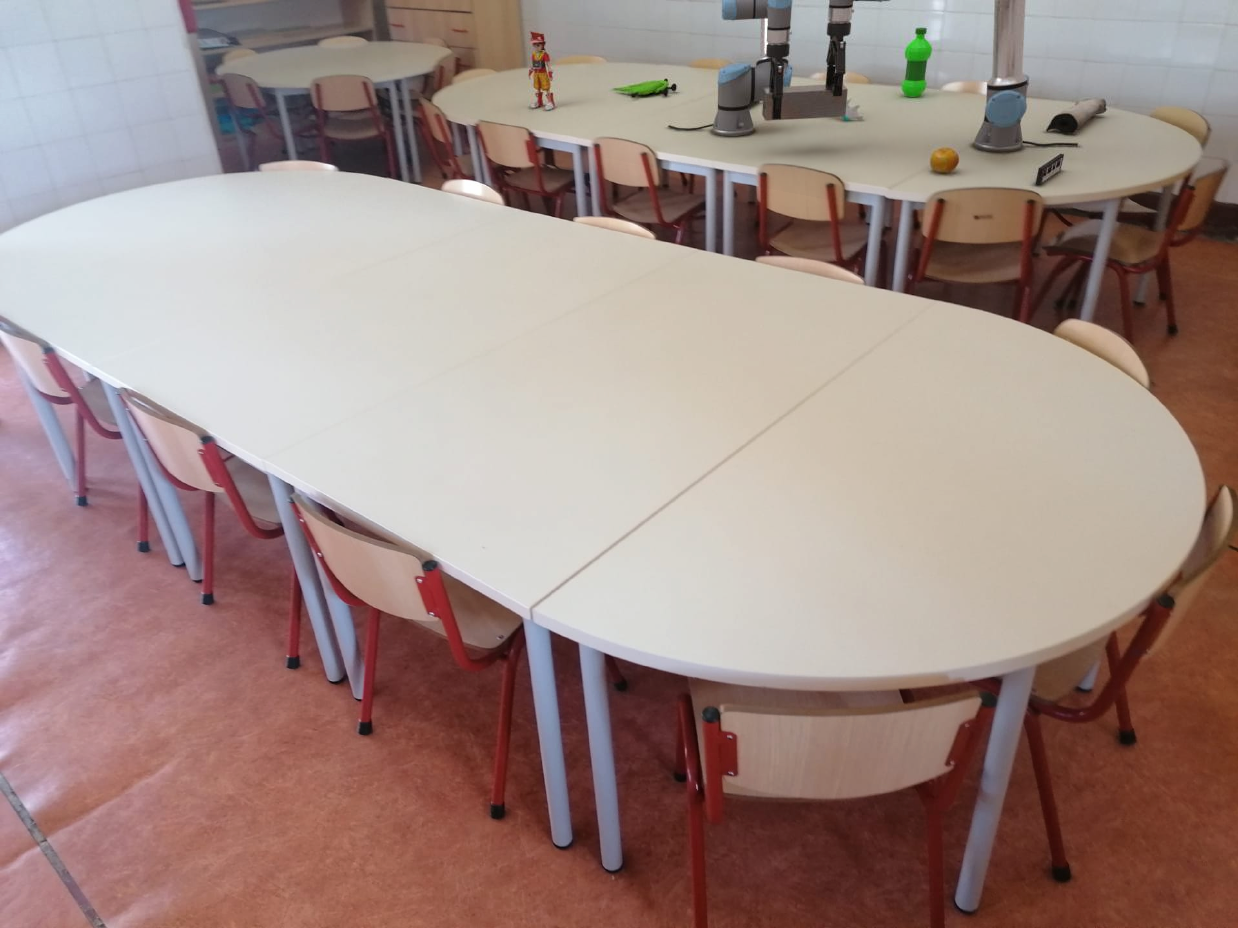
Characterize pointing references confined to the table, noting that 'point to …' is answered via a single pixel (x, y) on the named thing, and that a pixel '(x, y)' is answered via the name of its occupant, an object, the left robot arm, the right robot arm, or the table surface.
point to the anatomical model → (851, 112)
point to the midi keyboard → (1049, 169)
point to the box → (806, 102)
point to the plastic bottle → (916, 64)
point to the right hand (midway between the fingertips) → (833, 91)
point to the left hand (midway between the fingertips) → (774, 115)
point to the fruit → (944, 160)
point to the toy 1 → (541, 71)
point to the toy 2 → (648, 88)
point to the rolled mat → (1077, 115)
